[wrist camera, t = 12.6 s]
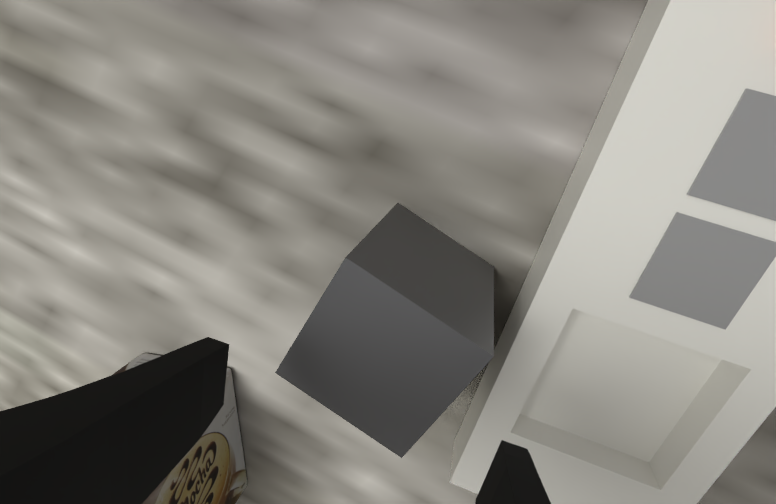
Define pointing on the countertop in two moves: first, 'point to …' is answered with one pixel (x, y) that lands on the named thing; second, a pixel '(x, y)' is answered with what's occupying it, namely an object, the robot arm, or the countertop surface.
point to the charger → (397, 331)
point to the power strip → (650, 277)
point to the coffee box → (206, 458)
